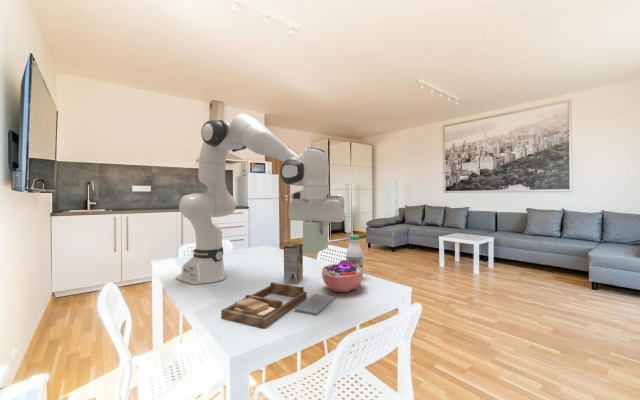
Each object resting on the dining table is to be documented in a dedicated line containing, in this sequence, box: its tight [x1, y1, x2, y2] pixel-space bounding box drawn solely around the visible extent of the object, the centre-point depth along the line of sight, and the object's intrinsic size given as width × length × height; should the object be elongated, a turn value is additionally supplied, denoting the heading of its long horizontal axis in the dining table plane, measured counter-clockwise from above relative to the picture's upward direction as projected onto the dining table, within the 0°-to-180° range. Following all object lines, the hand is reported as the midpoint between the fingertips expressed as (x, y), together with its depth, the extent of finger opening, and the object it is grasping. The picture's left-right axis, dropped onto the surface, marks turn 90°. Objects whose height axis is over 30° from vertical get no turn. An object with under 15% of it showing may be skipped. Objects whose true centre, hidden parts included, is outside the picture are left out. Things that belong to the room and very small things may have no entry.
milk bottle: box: [345, 234, 364, 280], centre depth 130 cm, size 8×8×20 cm
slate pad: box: [294, 293, 336, 317], centre depth 99 cm, size 8×16×1 cm, turn 156°
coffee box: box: [283, 243, 304, 285], centre depth 127 cm, size 9×6×16 cm
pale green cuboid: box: [302, 221, 329, 255], centre depth 99 cm, size 4×12×10 cm, turn 156°
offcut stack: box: [234, 297, 276, 318], centre depth 90 cm, size 13×7×4 cm, turn 59°
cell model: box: [321, 259, 364, 293], centre depth 115 cm, size 17×20×11 cm
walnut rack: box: [220, 282, 308, 329], centre depth 97 cm, size 16×26×4 cm, turn 156°
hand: (316, 234), depth 99 cm, fingers closed on pale green cuboid, 4 cm apart
